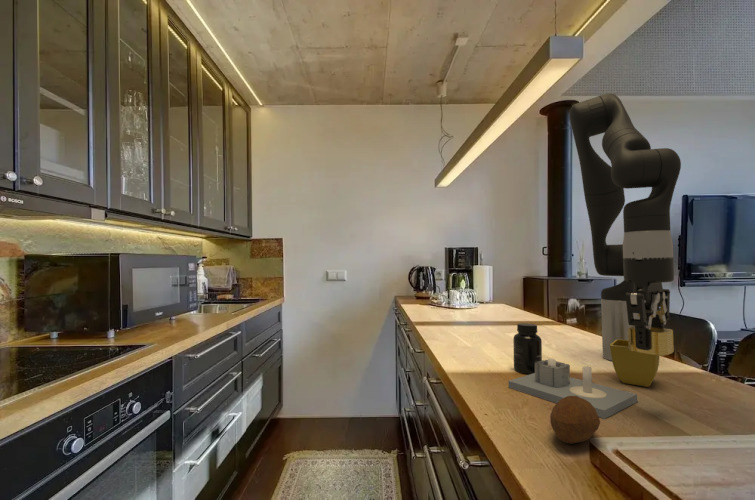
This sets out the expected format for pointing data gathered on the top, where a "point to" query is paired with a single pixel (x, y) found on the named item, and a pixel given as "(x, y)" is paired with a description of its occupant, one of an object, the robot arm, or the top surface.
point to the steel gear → (552, 374)
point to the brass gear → (654, 341)
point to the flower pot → (633, 364)
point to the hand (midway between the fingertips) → (650, 346)
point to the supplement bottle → (527, 348)
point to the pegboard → (578, 392)
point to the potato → (574, 419)
